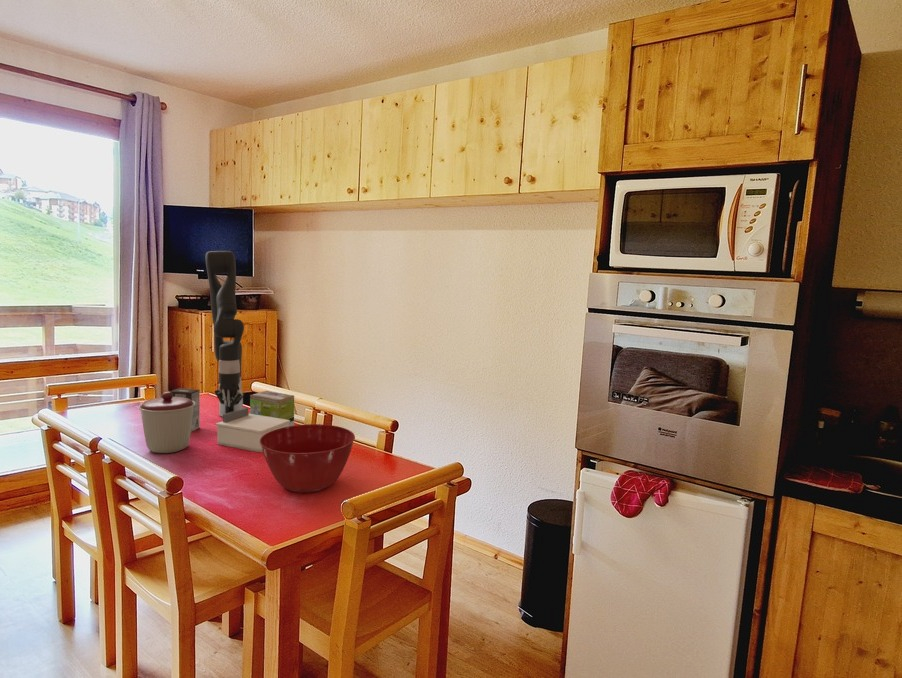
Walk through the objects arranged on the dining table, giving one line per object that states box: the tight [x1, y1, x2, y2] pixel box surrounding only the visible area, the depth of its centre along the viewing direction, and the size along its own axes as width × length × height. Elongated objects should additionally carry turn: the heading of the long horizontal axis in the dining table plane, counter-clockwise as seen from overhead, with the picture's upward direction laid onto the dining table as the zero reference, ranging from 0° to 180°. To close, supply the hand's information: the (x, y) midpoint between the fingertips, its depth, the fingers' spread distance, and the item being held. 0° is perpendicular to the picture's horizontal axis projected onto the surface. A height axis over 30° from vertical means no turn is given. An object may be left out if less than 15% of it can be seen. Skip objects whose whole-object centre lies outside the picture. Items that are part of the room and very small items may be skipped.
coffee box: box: [170, 387, 201, 433], centre depth 220 cm, size 9×6×16 cm
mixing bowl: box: [260, 423, 356, 494], centre depth 169 cm, size 28×28×16 cm
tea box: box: [249, 390, 295, 426], centre depth 225 cm, size 15×10×15 cm
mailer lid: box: [215, 407, 290, 433], centre depth 207 cm, size 21×17×4 cm
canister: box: [137, 391, 196, 454], centre depth 195 cm, size 18×18×21 cm
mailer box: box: [216, 423, 289, 453], centre depth 208 cm, size 20×16×7 cm
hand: (229, 415), depth 211 cm, fingers closed
